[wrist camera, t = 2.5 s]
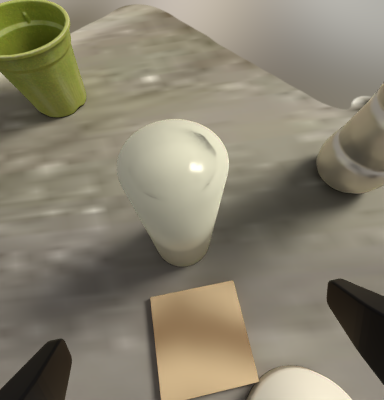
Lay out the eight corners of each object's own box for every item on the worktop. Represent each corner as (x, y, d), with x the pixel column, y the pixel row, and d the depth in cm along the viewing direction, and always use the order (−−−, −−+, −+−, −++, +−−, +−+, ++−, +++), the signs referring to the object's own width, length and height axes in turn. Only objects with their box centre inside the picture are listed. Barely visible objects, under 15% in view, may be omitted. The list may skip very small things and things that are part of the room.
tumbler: (172, 277, 20) (147, 234, 9) (147, 230, 22) (99, 145, 11) (220, 248, 21) (251, 177, 10) (192, 205, 23) (192, 105, 12)
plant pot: (96, 70, 32) (65, -8, 24) (105, 119, 28) (71, 45, 20) (25, 83, 31) (-32, 5, 23) (24, 136, 27) (-45, 65, 19)
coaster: (257, 379, 17) (259, 381, 17) (162, 402, 17) (161, 405, 16) (232, 281, 20) (233, 280, 20) (151, 297, 19) (150, 297, 19)
